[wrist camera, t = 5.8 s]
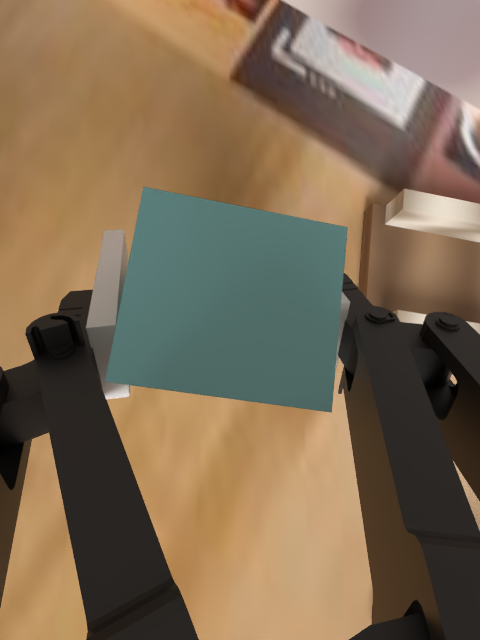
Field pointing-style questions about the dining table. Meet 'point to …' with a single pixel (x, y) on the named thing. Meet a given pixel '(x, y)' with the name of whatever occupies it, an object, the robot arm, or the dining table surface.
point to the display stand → (422, 257)
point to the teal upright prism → (230, 303)
